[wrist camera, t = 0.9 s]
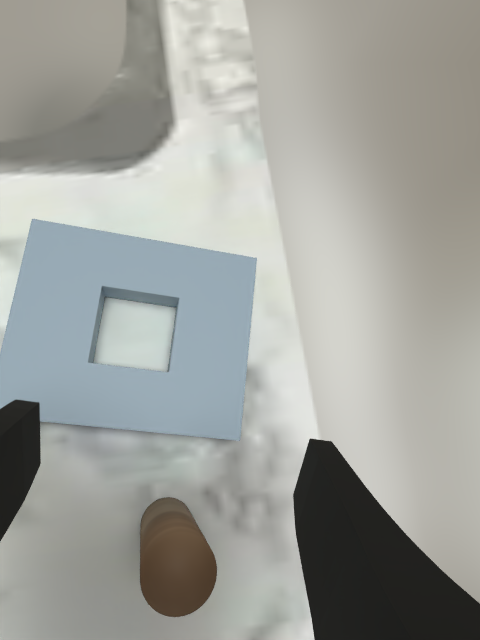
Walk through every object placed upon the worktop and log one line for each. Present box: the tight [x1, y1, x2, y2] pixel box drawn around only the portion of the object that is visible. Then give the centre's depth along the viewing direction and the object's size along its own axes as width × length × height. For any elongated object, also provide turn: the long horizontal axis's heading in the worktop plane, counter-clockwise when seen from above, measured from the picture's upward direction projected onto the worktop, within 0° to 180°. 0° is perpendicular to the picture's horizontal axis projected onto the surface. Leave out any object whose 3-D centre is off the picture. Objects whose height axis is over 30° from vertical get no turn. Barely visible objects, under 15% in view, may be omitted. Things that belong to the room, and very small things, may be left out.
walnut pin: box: [140, 497, 217, 617], centre depth 19 cm, size 3×3×8 cm
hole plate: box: [0, 219, 257, 441], centre depth 24 cm, size 10×12×2 cm
